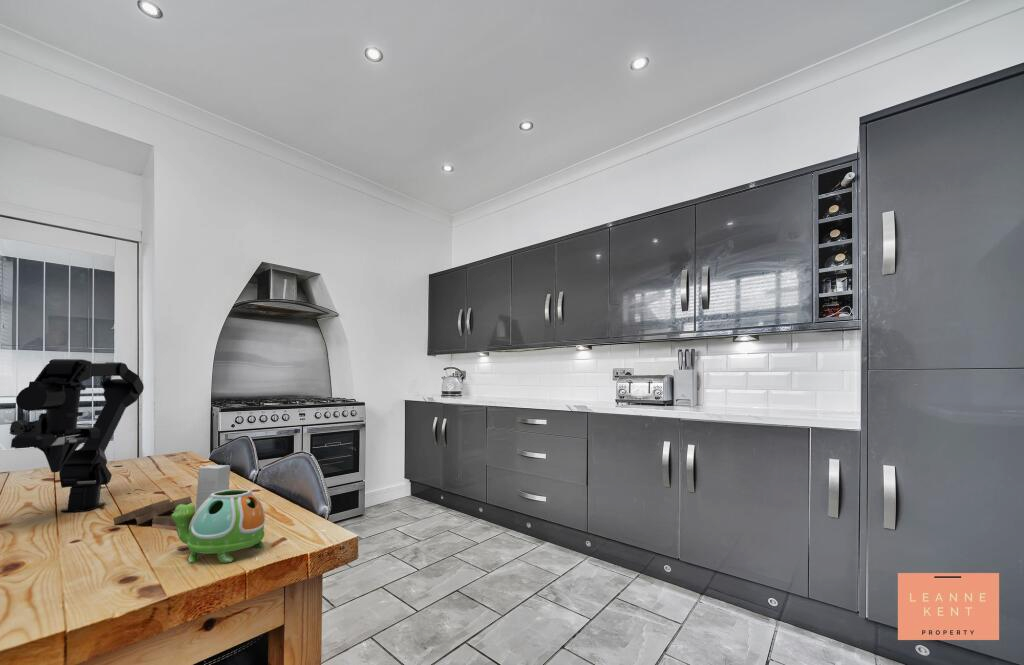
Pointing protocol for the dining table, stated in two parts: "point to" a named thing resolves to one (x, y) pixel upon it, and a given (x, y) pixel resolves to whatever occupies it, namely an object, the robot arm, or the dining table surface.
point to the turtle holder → (221, 524)
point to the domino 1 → (139, 512)
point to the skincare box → (211, 481)
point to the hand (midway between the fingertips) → (55, 472)
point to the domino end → (164, 526)
